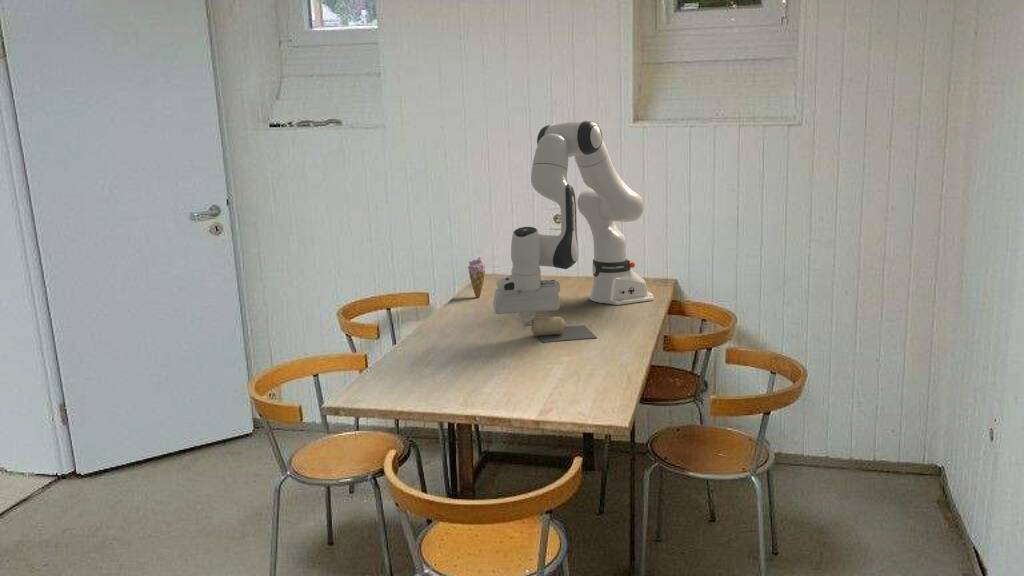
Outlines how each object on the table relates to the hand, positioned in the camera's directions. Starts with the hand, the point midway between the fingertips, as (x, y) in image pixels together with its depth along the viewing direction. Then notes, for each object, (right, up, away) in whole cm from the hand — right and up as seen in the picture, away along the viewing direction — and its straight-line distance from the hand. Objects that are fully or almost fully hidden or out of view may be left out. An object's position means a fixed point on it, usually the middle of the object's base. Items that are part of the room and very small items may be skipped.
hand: (527, 325), depth 277 cm
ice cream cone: (-17, +8, +50) cm, 54 cm away
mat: (+11, -3, +3) cm, 12 cm away
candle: (+2, -1, 0) cm, 2 cm away
